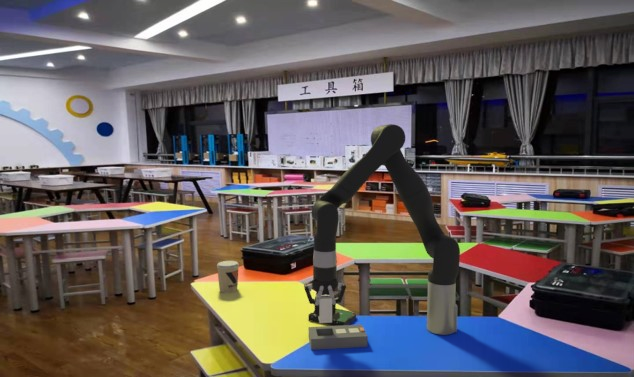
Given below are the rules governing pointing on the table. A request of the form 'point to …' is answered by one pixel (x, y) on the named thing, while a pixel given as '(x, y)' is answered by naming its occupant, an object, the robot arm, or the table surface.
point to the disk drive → (337, 317)
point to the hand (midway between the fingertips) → (324, 314)
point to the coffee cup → (228, 276)
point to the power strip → (337, 337)
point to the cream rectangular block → (325, 309)
